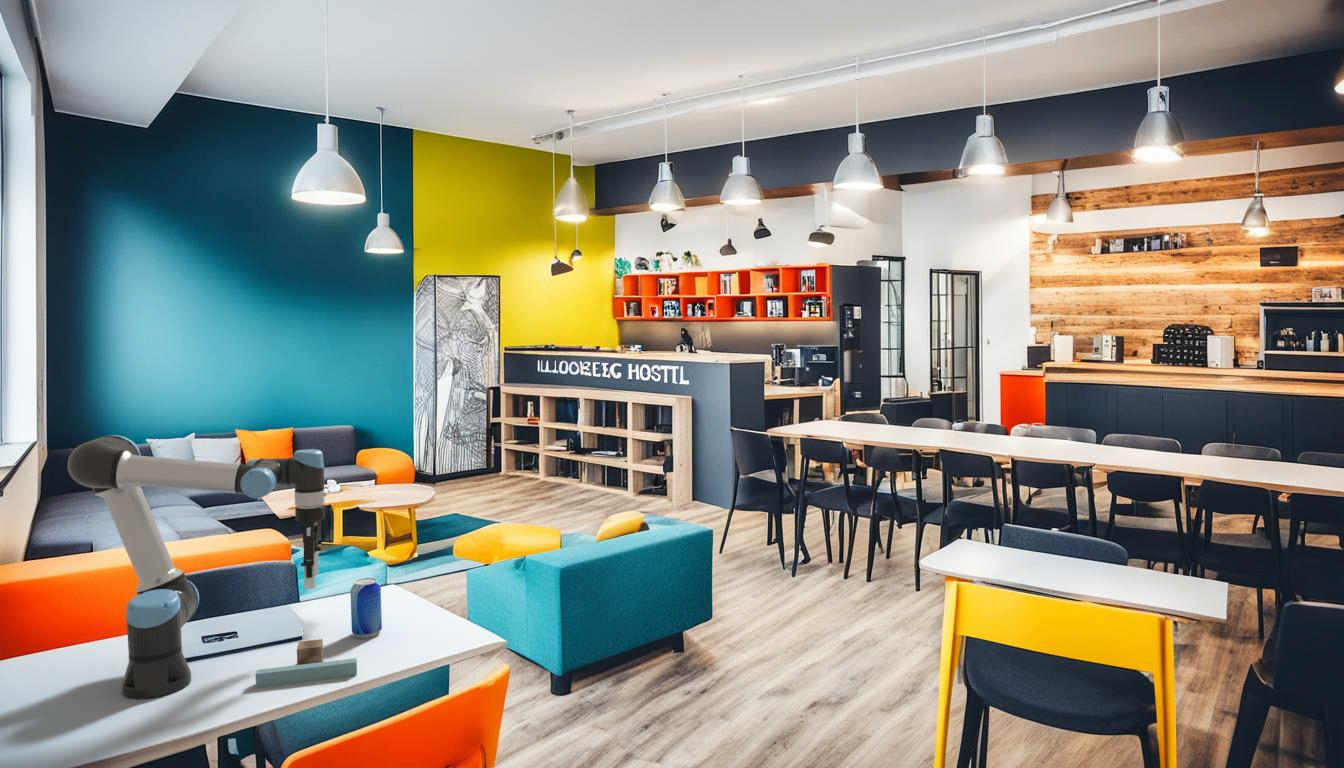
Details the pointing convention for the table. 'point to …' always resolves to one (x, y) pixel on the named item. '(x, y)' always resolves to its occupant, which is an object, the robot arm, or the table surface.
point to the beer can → (366, 608)
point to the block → (310, 652)
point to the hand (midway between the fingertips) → (311, 581)
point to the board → (305, 672)
